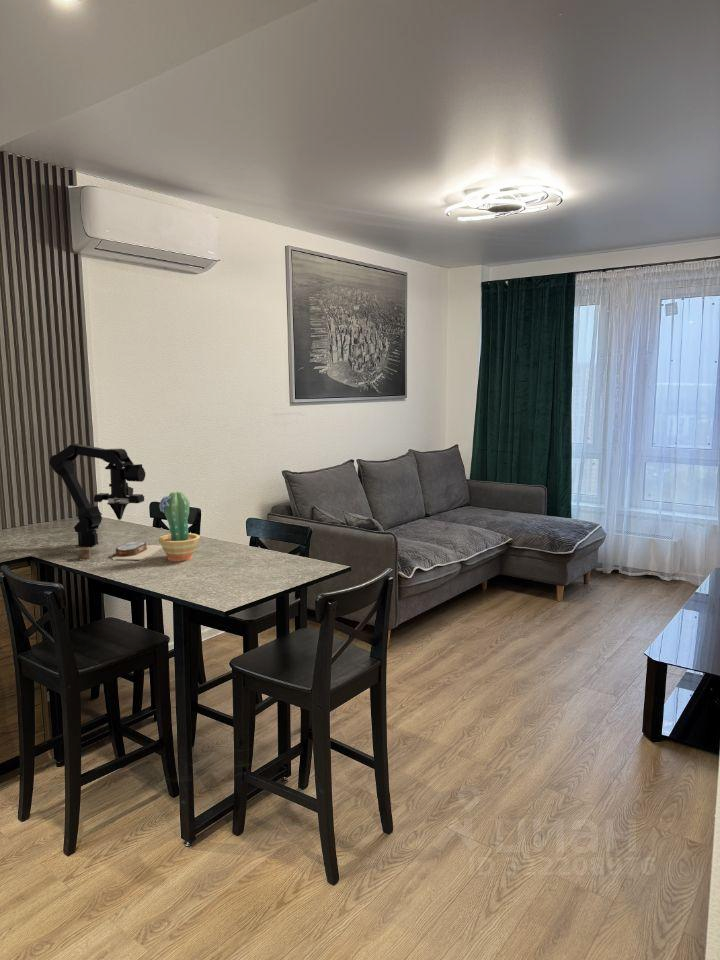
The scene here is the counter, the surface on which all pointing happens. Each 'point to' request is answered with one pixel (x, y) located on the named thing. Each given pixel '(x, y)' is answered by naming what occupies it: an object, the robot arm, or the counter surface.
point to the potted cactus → (177, 528)
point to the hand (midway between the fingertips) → (119, 519)
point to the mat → (141, 554)
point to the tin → (131, 549)
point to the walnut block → (84, 553)
